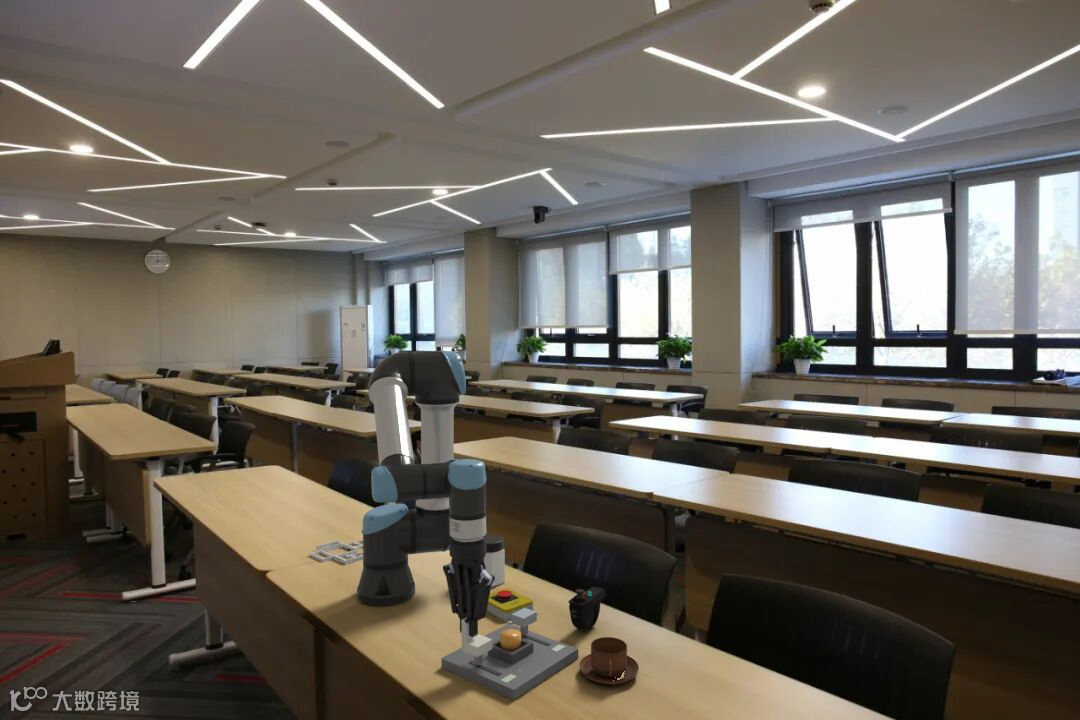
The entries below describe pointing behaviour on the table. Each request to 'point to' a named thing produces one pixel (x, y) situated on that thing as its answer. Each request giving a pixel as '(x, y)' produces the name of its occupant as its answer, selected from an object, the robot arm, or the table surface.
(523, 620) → the slate lever
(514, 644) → the amber button
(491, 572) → the jar
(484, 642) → the off-white rectangular box
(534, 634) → the control panel
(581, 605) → the controller
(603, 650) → the cup and saucer
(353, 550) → the floor plan model
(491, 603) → the emergency button
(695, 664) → the table surface
